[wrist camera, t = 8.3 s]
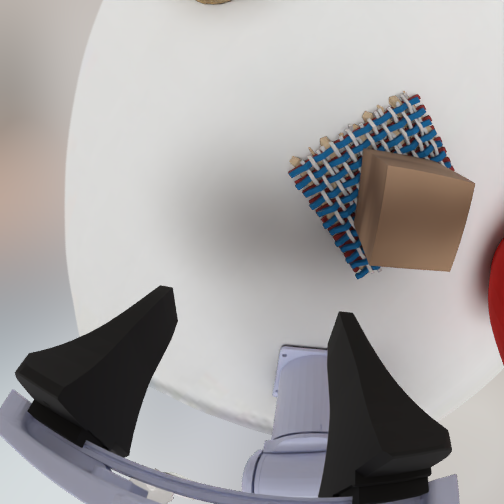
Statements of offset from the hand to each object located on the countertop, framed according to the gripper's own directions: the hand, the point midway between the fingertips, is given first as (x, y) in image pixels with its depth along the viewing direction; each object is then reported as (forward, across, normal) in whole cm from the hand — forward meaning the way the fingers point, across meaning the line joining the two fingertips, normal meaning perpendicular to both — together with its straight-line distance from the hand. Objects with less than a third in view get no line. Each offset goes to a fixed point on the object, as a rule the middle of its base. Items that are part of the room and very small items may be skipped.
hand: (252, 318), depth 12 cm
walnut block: (+8, -8, -4) cm, 12 cm away
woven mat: (+10, -8, -4) cm, 13 cm away
